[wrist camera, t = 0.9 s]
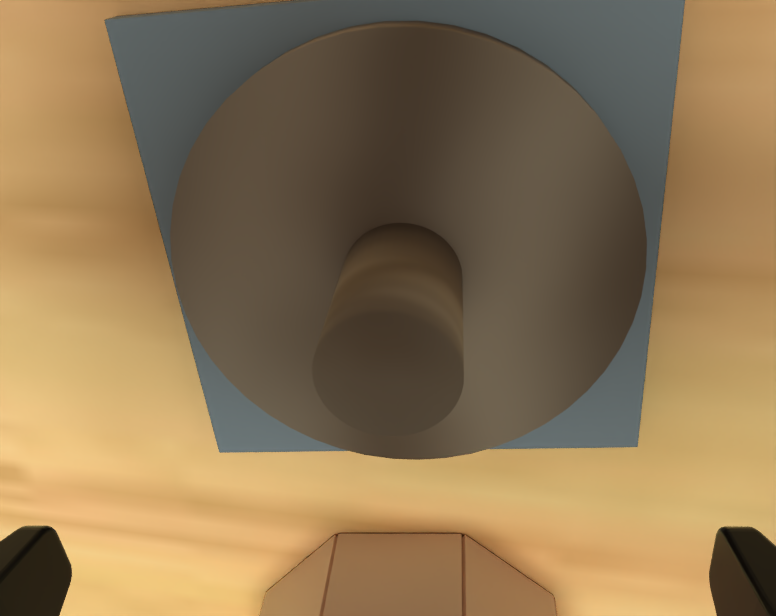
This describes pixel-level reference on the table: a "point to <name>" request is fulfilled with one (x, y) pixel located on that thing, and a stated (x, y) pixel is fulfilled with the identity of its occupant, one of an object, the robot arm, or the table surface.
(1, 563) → the robot arm
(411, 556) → the bowl
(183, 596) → the table surface
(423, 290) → the lid
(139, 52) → the mat
